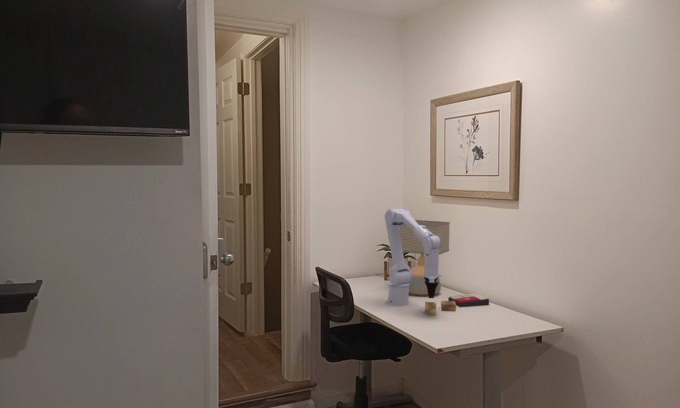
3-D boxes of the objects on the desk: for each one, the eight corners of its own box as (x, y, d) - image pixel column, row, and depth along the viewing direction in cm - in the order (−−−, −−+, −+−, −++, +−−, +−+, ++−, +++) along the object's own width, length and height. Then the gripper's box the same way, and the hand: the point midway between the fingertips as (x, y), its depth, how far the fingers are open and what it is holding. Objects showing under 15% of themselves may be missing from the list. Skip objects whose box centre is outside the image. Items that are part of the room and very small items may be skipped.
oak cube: (425, 314, 218) (425, 304, 218) (424, 312, 223) (425, 301, 222) (436, 315, 218) (436, 305, 217) (435, 312, 222) (435, 302, 222)
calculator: (447, 295, 241) (476, 292, 245) (448, 304, 241) (476, 300, 245) (459, 301, 230) (489, 297, 235) (460, 310, 231) (489, 306, 235)
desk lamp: (449, 292, 261) (450, 220, 259) (434, 300, 245) (436, 223, 243) (409, 286, 273) (411, 217, 270) (393, 293, 257) (394, 220, 254)
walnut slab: (441, 310, 224) (441, 304, 224) (440, 307, 230) (441, 300, 230) (455, 311, 224) (455, 304, 223) (454, 307, 229) (454, 301, 229)
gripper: (442, 267, 211) (441, 300, 212) (440, 261, 225) (439, 292, 226) (424, 267, 212) (424, 299, 213) (423, 260, 226) (423, 291, 227)
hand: (430, 295), depth 220 cm, fingers open, 7 cm apart
